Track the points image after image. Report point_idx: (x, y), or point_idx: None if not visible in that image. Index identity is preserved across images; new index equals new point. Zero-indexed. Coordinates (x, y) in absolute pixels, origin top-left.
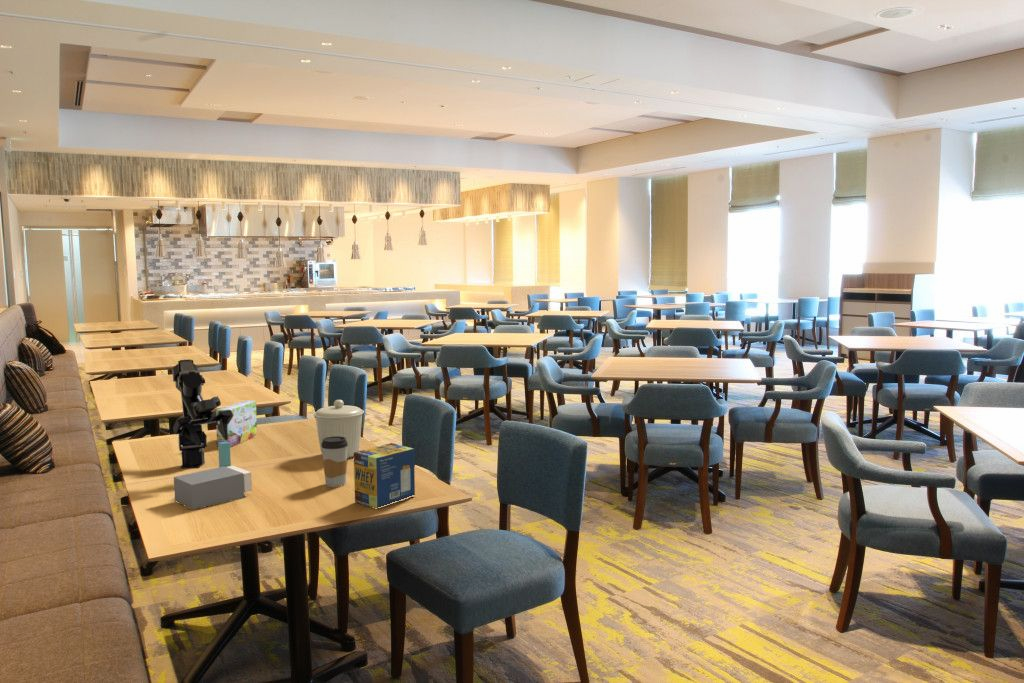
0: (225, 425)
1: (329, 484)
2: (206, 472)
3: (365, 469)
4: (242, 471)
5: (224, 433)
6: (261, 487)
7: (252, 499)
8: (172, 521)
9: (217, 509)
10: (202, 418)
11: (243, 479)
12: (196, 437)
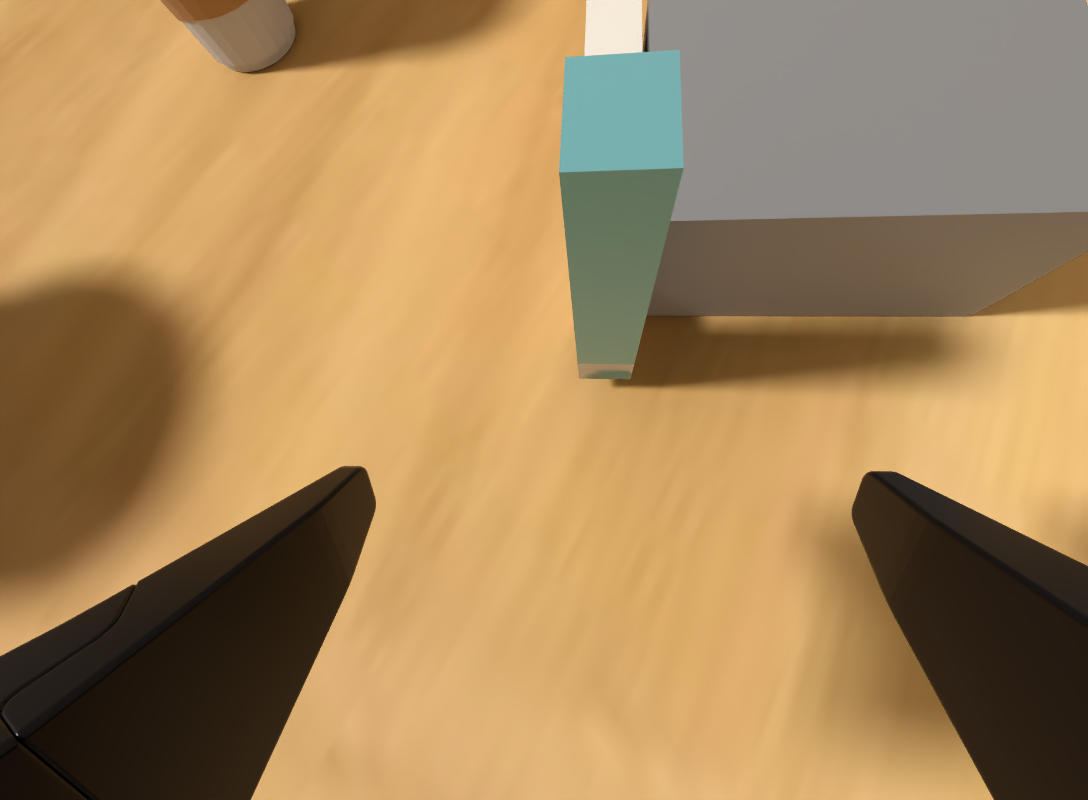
0: (5, 686)
1: (291, 14)
2: (853, 152)
3: None
4: (616, 45)
5: (298, 543)
6: (479, 215)
7: None
8: None
9: None
10: None
11: (645, 30)
12: (1054, 564)
